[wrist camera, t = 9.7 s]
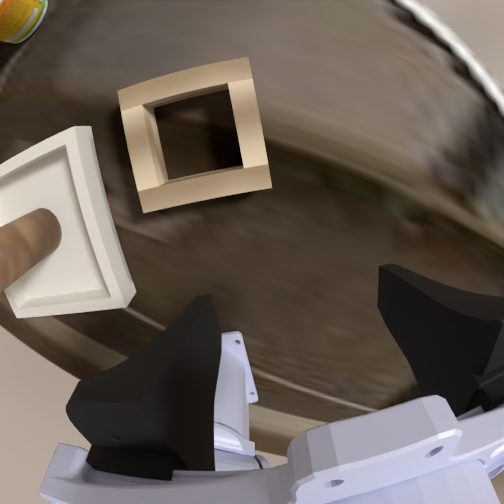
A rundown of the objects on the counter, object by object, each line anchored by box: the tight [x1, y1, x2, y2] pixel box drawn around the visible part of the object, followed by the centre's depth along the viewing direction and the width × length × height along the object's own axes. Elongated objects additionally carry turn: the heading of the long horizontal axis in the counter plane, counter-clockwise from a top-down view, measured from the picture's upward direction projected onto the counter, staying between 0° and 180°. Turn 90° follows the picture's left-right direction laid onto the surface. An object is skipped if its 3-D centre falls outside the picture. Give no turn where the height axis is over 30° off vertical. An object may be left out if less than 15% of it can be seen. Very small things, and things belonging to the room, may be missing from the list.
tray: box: [0, 126, 136, 318], centre depth 20 cm, size 14×14×2 cm
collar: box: [118, 57, 272, 213], centre depth 18 cm, size 8×8×2 cm
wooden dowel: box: [0, 208, 62, 294], centre depth 17 cm, size 4×4×9 cm
